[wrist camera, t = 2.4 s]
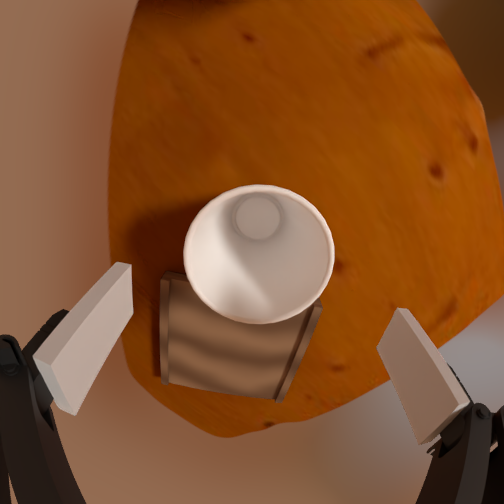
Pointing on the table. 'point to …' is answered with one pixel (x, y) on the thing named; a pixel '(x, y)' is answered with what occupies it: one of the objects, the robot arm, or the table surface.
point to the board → (228, 345)
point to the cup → (258, 254)
